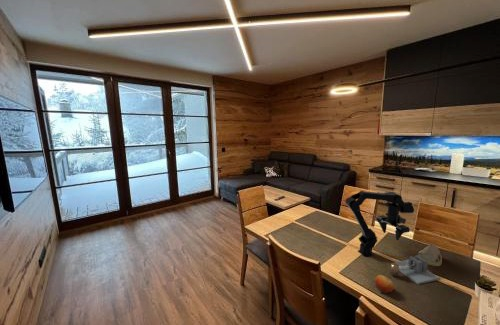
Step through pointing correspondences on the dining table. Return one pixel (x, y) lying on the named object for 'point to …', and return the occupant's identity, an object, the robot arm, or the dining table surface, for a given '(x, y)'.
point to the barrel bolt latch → (418, 270)
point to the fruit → (384, 284)
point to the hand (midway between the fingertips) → (390, 236)
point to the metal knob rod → (399, 268)
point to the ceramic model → (431, 255)
